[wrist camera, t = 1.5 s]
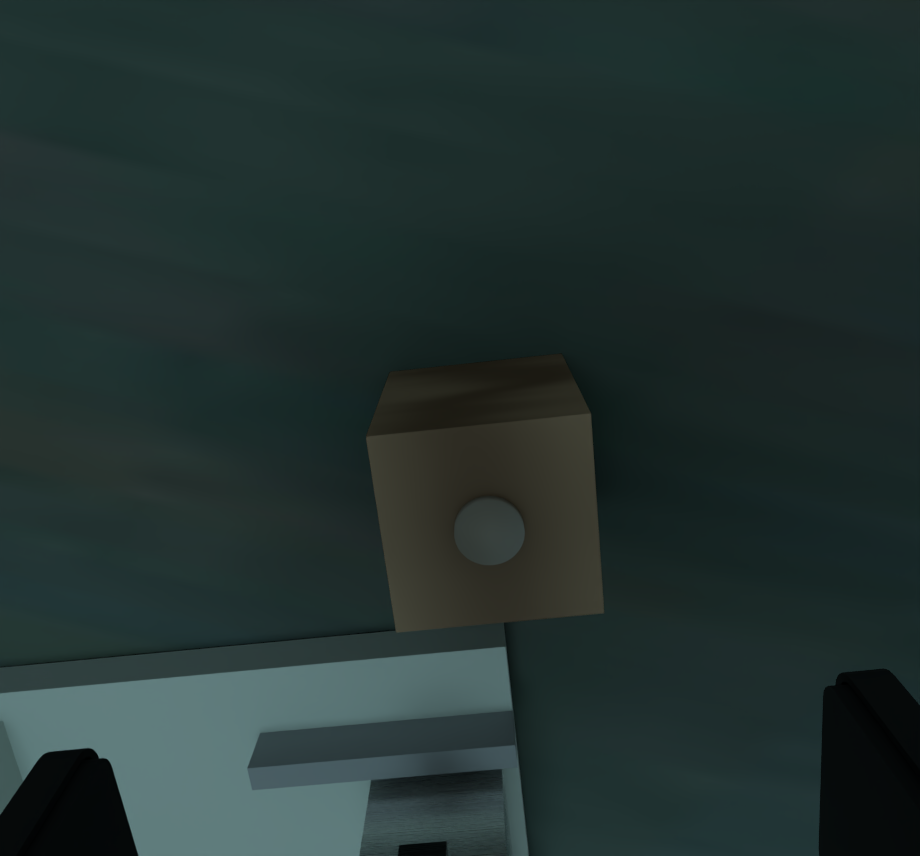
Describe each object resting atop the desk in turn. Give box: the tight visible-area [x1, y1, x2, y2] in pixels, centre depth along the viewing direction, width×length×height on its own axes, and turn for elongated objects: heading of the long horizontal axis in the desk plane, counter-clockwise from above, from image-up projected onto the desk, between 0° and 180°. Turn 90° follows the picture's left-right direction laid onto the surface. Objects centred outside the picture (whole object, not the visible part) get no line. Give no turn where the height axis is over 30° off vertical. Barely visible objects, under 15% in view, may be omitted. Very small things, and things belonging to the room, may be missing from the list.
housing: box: [366, 353, 604, 633], centre depth 22 cm, size 5×5×6 cm
